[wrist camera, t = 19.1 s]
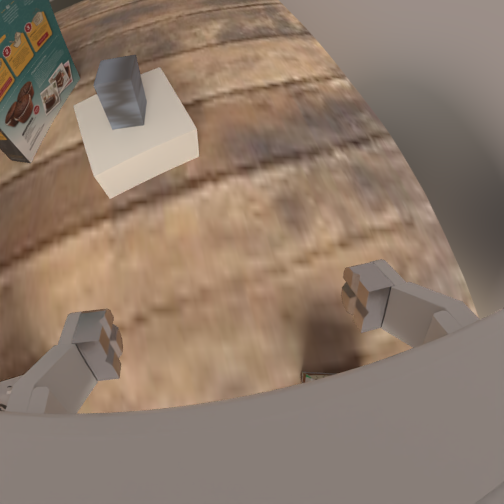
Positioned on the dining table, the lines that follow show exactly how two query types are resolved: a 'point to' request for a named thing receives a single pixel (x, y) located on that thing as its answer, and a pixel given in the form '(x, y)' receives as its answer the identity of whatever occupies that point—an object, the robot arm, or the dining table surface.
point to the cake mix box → (31, 75)
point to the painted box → (138, 138)
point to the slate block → (121, 92)
